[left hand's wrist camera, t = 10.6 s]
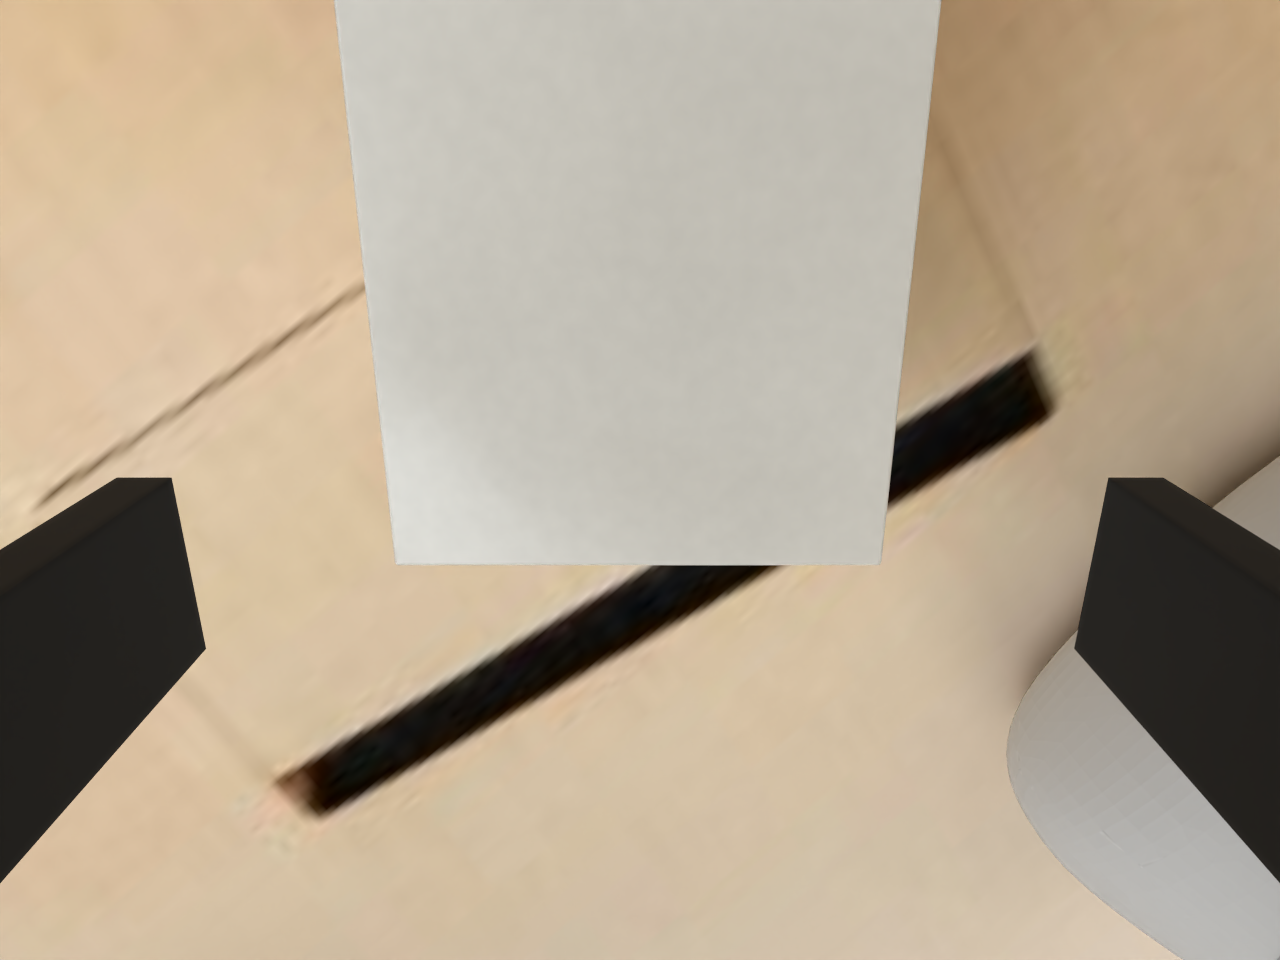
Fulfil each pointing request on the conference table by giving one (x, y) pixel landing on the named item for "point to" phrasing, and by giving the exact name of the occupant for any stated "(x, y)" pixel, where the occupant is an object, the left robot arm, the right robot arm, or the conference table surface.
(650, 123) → the cabinet
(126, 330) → the conference table surface
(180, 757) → the conference table surface
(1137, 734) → the projector
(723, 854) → the conference table surface
